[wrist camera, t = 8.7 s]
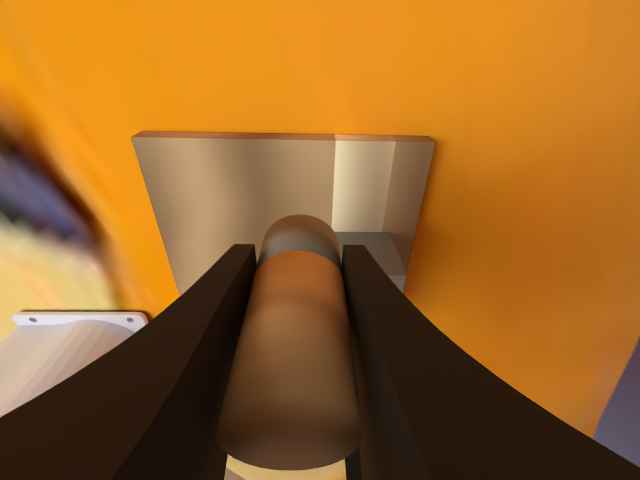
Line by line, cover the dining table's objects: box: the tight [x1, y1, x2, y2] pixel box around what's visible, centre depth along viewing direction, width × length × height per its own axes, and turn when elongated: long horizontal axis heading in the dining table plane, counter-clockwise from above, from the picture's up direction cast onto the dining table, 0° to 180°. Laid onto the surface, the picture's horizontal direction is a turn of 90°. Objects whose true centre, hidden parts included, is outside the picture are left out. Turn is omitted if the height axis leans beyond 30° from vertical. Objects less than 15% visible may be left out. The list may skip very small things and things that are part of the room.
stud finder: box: [335, 232, 407, 293], centre depth 18 cm, size 4×6×4 cm, turn 179°
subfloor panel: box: [131, 131, 435, 296], centre depth 19 cm, size 15×12×1 cm
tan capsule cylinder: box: [216, 214, 363, 470], centre depth 8 cm, size 3×3×6 cm
